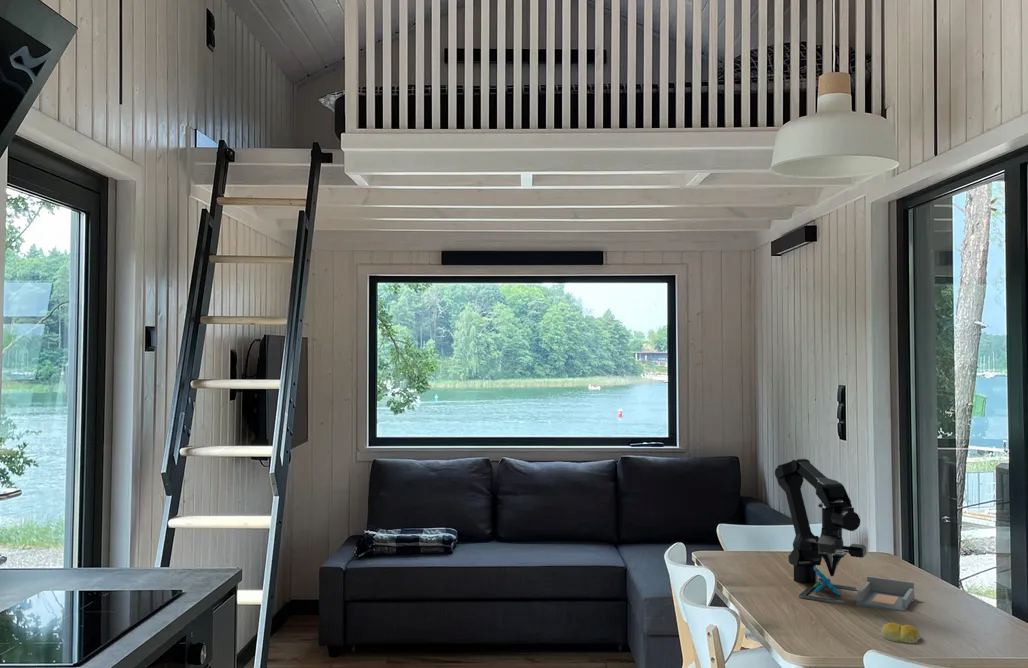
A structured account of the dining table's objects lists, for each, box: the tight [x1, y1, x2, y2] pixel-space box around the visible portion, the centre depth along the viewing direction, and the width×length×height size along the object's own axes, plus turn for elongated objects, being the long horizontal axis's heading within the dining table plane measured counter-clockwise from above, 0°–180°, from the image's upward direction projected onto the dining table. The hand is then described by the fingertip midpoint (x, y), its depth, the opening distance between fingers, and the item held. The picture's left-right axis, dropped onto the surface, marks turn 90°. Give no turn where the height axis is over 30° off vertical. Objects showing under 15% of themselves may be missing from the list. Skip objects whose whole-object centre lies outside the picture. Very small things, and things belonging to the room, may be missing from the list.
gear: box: [813, 567, 841, 596], centre depth 256 cm, size 11×6×10 cm
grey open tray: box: [855, 575, 915, 612], centre depth 247 cm, size 13×18×5 cm
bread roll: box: [881, 622, 922, 644], centre depth 212 cm, size 8×9×4 cm
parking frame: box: [798, 581, 857, 605], centre depth 255 cm, size 12×19×1 cm, turn 147°
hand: (832, 576), depth 255 cm, fingers closed
